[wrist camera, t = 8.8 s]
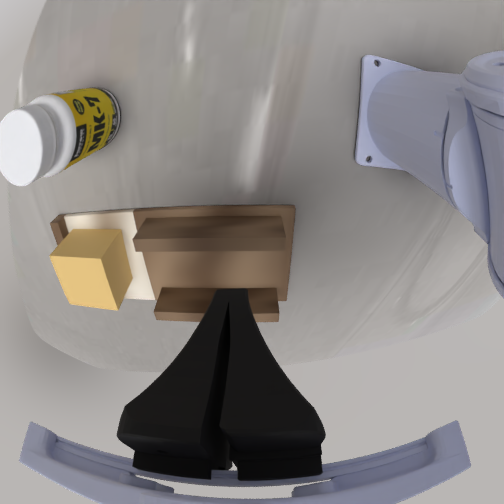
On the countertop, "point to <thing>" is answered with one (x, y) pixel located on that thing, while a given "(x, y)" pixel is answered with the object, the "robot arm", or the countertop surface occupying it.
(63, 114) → the supplement bottle
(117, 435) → the robot arm
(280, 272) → the walnut chute
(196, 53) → the countertop surface
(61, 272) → the ochre block
